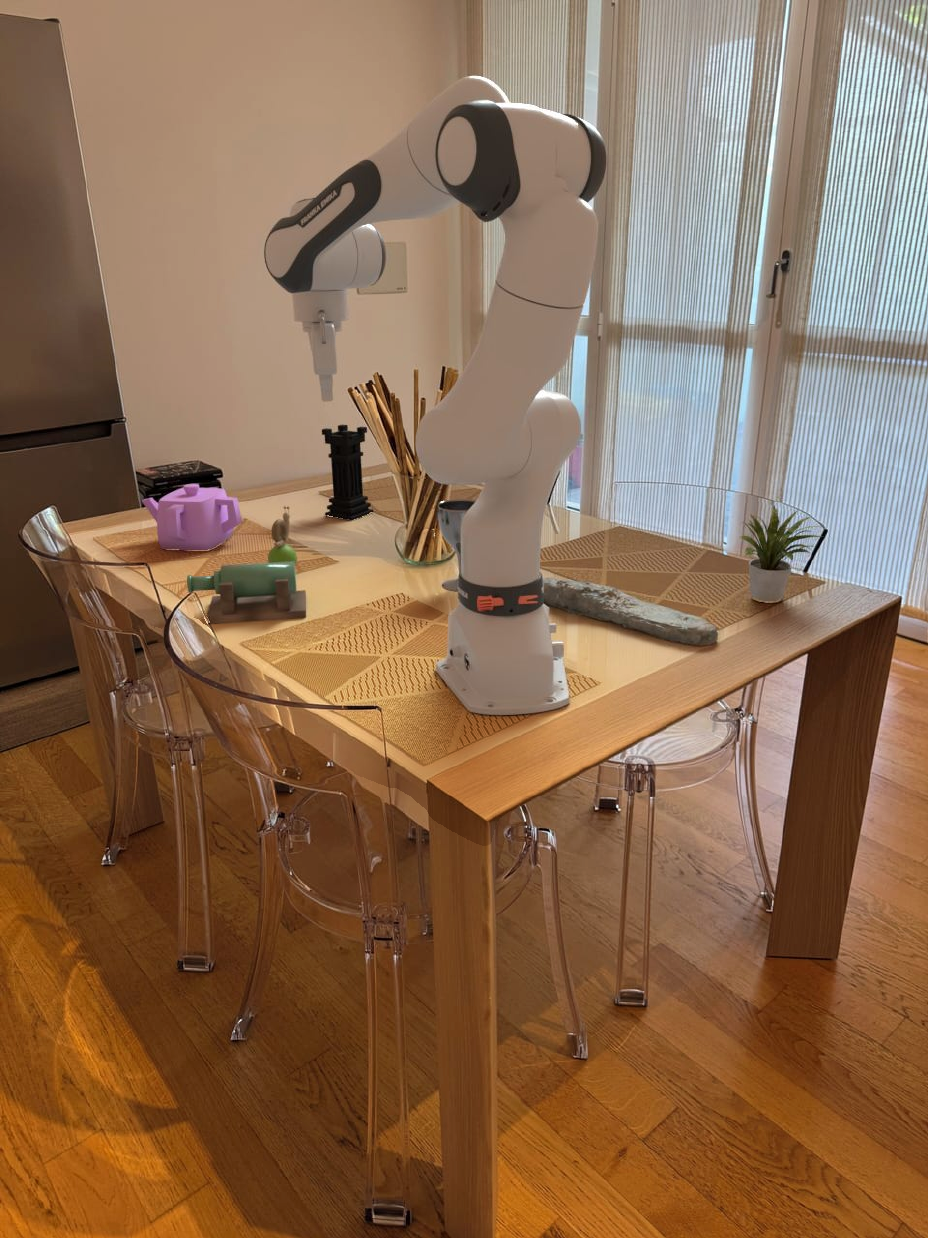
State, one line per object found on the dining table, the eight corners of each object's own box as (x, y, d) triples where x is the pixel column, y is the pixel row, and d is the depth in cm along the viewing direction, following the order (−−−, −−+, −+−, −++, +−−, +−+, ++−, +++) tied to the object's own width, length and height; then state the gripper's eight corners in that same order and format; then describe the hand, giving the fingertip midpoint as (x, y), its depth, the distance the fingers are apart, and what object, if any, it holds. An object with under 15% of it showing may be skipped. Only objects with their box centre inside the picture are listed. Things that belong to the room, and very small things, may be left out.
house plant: (769, 622, 147) (781, 524, 141) (704, 597, 158) (713, 506, 152) (824, 604, 154) (838, 510, 148) (759, 581, 165) (769, 494, 159)
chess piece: (373, 512, 212) (369, 426, 205) (352, 520, 206) (347, 432, 199) (346, 508, 216) (341, 423, 209) (325, 516, 210) (319, 429, 202)
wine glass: (478, 593, 161) (478, 511, 155) (435, 590, 162) (433, 509, 157) (486, 578, 168) (486, 499, 162) (444, 576, 169) (443, 498, 164)
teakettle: (173, 559, 181) (165, 499, 177) (145, 540, 194) (136, 483, 189) (252, 543, 191) (246, 486, 186) (220, 526, 203) (214, 472, 199)
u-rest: (306, 596, 160) (303, 562, 158) (306, 617, 151) (303, 581, 149) (213, 602, 158) (209, 567, 155) (207, 623, 149) (202, 587, 146)
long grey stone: (695, 664, 136) (727, 647, 143) (701, 632, 134) (732, 616, 141) (516, 598, 157) (550, 586, 164) (519, 569, 155) (553, 559, 162)
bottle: (297, 600, 155) (295, 572, 158) (294, 583, 150) (293, 554, 153) (191, 606, 152) (191, 578, 155) (185, 590, 148) (185, 561, 150)
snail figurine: (304, 567, 176) (300, 506, 171) (290, 577, 170) (285, 515, 165) (279, 564, 177) (274, 505, 172) (264, 575, 171) (258, 513, 167)
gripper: (343, 312, 137) (348, 405, 142) (338, 305, 156) (343, 388, 161) (300, 313, 136) (307, 406, 141) (301, 306, 155) (307, 389, 160)
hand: (326, 396), depth 151 cm, fingers open, 8 cm apart
